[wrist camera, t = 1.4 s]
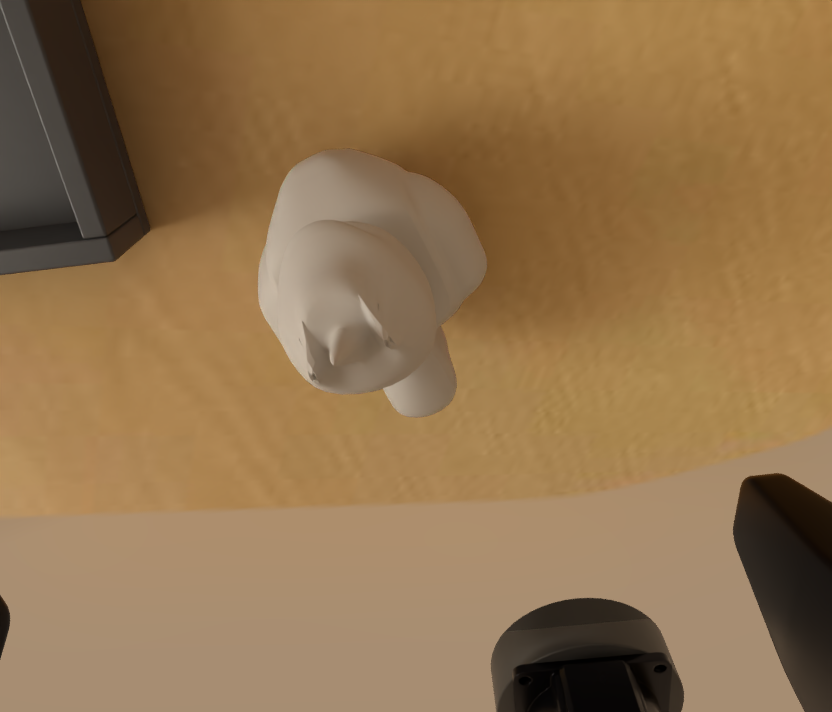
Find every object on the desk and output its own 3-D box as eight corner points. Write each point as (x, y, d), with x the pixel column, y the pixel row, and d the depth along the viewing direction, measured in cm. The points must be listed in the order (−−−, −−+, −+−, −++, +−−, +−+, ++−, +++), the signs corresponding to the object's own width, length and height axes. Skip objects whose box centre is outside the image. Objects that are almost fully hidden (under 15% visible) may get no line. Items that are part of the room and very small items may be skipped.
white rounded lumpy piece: (416, 91, 17) (423, 154, 9) (516, 314, 19) (581, 494, 12) (227, 188, 18) (104, 312, 10) (348, 387, 20) (317, 592, 13)
